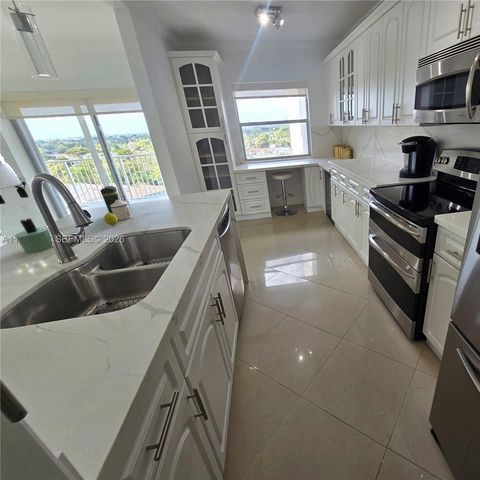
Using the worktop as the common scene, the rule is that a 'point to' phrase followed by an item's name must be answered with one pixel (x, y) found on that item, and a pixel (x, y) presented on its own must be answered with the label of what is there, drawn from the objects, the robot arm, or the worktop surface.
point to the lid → (30, 229)
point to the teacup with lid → (121, 210)
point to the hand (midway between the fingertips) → (13, 200)
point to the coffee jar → (110, 196)
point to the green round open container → (36, 242)
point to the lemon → (110, 219)
